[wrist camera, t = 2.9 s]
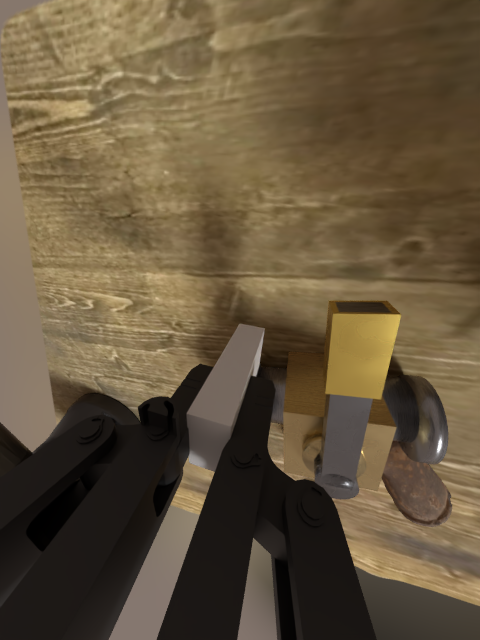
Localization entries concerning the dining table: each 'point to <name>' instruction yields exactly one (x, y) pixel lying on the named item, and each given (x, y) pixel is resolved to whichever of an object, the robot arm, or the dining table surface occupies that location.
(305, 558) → the robot arm
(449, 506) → the pipe
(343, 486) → the lever
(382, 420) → the valve body
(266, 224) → the dining table surface
